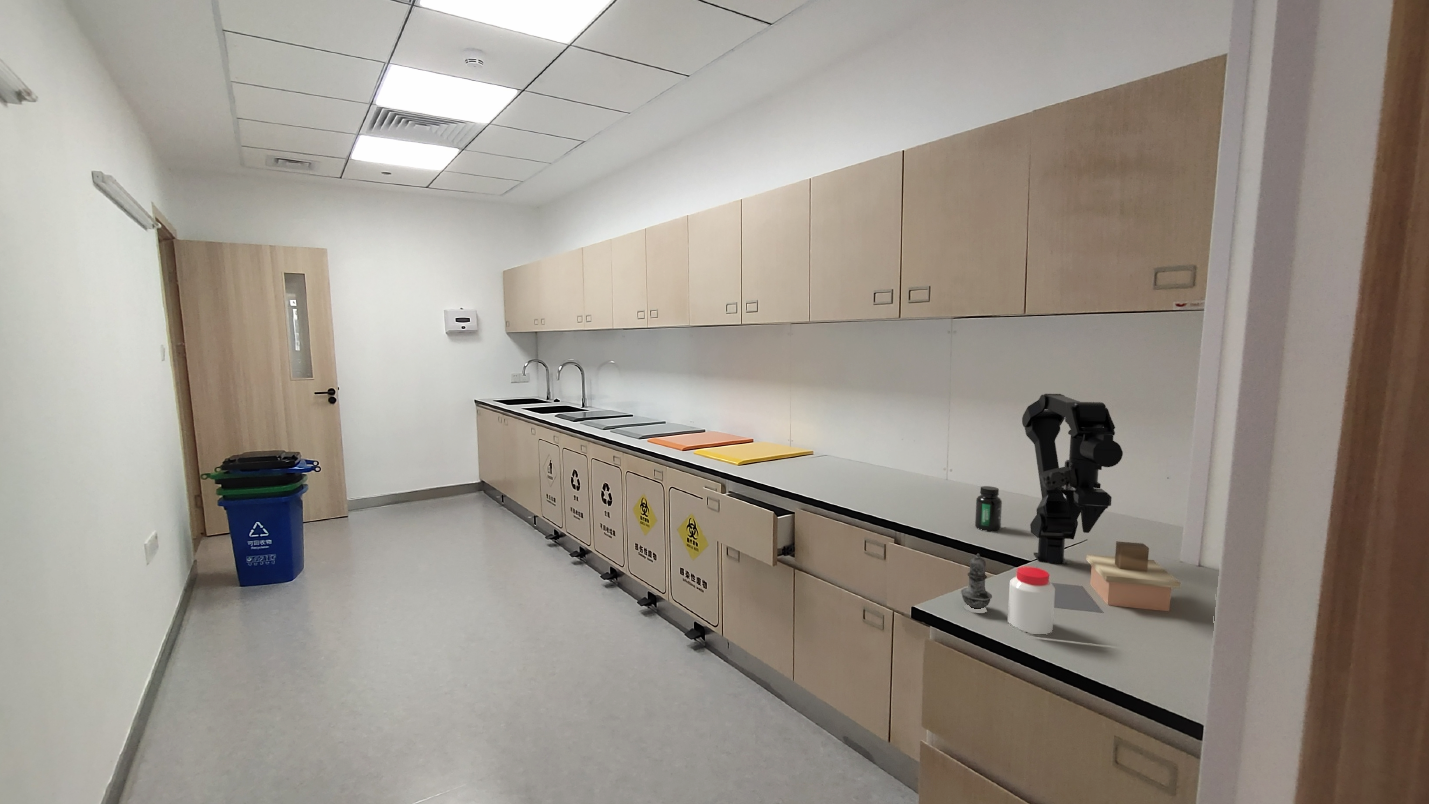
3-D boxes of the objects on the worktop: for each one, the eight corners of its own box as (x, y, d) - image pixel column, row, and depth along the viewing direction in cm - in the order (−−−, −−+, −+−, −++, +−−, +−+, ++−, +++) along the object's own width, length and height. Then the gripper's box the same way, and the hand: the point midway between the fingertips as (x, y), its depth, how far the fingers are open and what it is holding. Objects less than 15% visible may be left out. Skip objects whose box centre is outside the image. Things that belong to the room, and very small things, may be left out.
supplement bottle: (987, 533, 175) (989, 491, 174) (969, 526, 182) (971, 486, 180) (1005, 530, 178) (1008, 489, 177) (987, 523, 184) (989, 484, 183)
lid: (1086, 559, 138) (1087, 532, 138) (1152, 565, 135) (1155, 537, 134) (1106, 581, 126) (1108, 551, 125) (1180, 588, 122) (1182, 558, 122)
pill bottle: (1038, 617, 122) (1041, 564, 121) (1061, 636, 114) (1065, 579, 113) (999, 618, 122) (1002, 564, 121) (1020, 637, 114) (1023, 579, 113)
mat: (1013, 580, 141) (1013, 579, 140) (1082, 587, 137) (1082, 585, 137) (1026, 606, 127) (1027, 604, 127) (1103, 614, 123) (1103, 612, 123)
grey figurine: (965, 601, 129) (967, 546, 128) (994, 609, 126) (997, 552, 124) (955, 611, 125) (958, 553, 123) (986, 619, 121) (989, 560, 120)
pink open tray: (1090, 587, 138) (1091, 561, 137) (1146, 592, 135) (1148, 566, 134) (1107, 607, 127) (1109, 579, 127) (1169, 614, 124) (1171, 585, 124)
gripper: (1034, 449, 148) (1030, 512, 150) (1054, 464, 130) (1050, 536, 132) (1086, 451, 145) (1082, 516, 147) (1114, 467, 127) (1109, 540, 129)
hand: (1079, 526), depth 138 cm, fingers open, 9 cm apart
